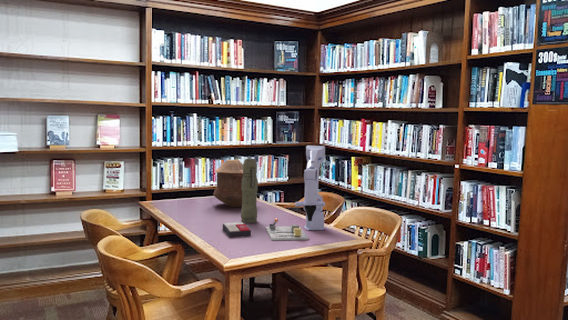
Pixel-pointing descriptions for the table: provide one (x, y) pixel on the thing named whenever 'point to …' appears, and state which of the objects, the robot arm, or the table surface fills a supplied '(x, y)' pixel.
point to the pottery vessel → (229, 183)
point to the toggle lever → (275, 222)
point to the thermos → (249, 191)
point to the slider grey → (293, 227)
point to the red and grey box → (236, 229)
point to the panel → (284, 233)
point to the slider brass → (297, 231)
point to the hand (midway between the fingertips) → (309, 220)
